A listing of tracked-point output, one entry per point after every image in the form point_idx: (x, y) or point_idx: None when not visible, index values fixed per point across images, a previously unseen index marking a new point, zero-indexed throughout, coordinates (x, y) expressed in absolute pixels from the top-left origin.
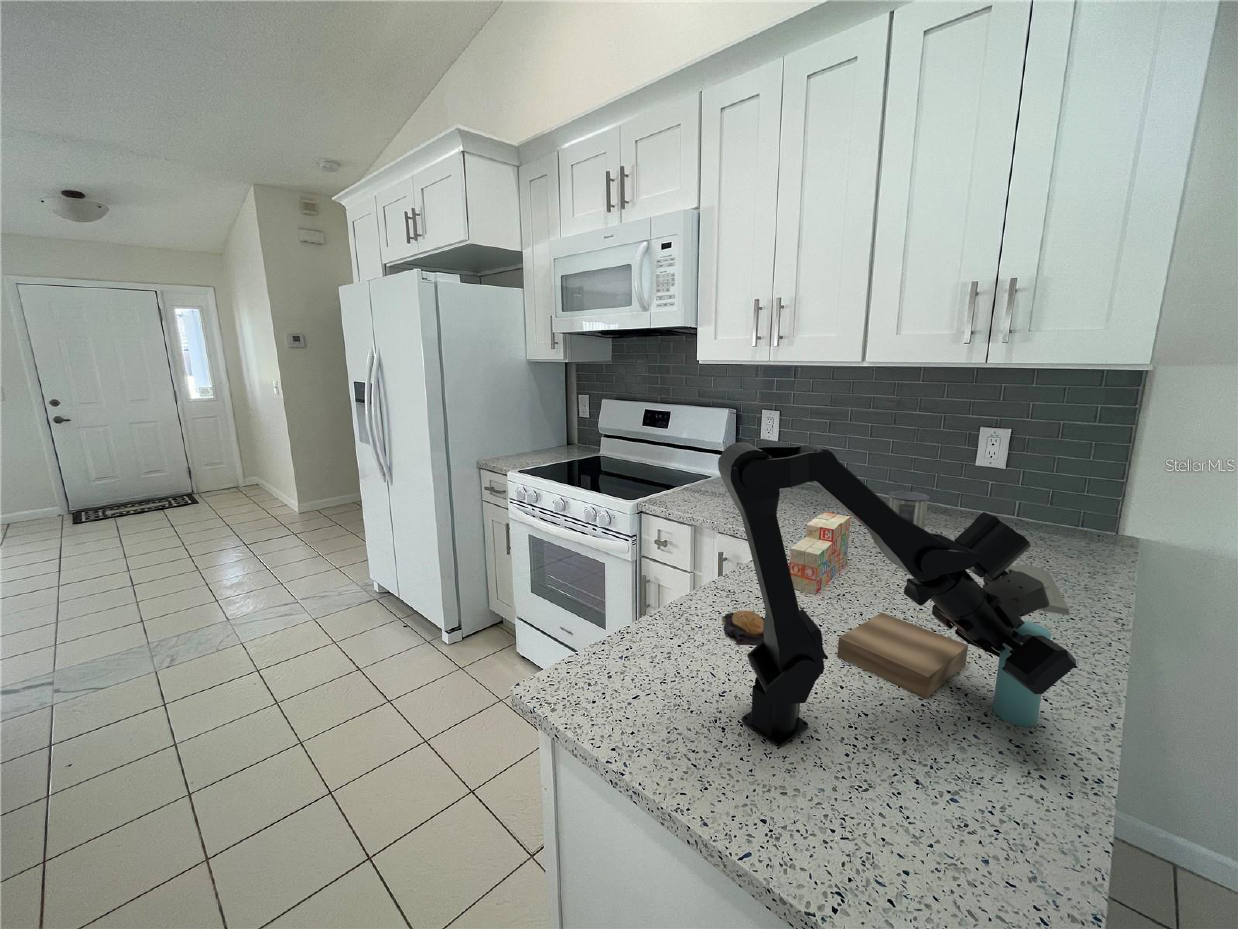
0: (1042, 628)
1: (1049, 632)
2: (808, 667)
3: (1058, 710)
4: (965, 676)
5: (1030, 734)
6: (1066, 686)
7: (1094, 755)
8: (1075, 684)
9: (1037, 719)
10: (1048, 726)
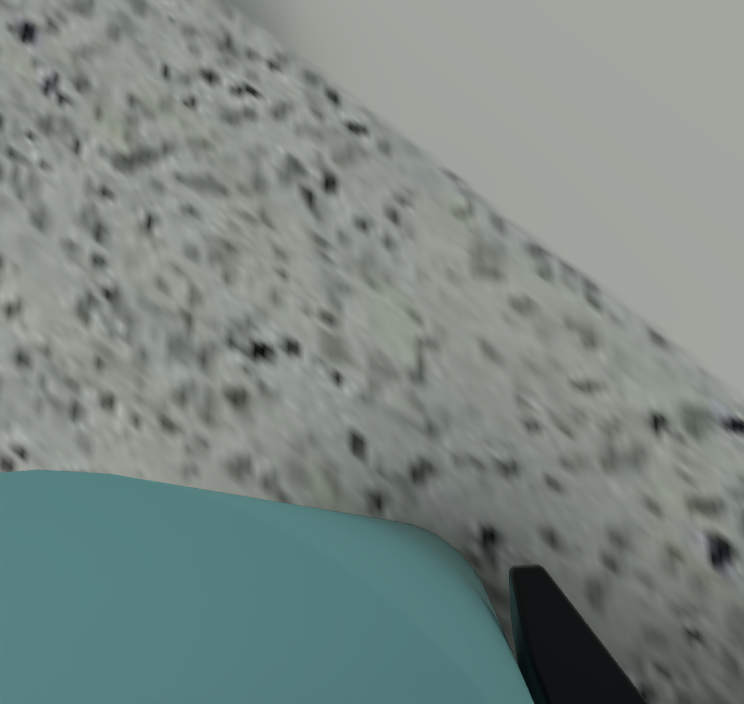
0: (11, 584)
1: (257, 550)
2: None
3: (349, 348)
4: None
5: None
6: (164, 171)
7: (714, 433)
8: (154, 120)
9: (461, 555)
10: (485, 505)
